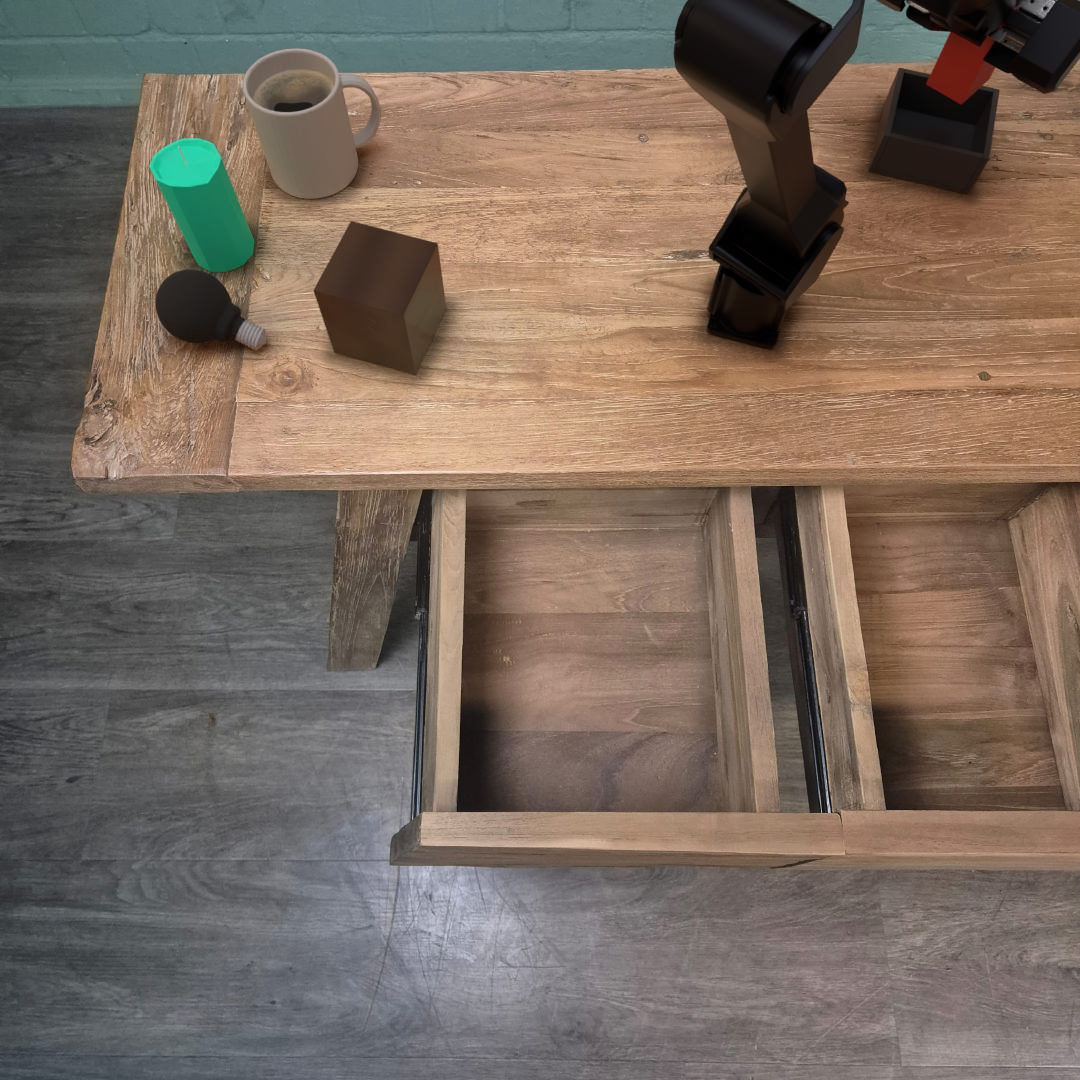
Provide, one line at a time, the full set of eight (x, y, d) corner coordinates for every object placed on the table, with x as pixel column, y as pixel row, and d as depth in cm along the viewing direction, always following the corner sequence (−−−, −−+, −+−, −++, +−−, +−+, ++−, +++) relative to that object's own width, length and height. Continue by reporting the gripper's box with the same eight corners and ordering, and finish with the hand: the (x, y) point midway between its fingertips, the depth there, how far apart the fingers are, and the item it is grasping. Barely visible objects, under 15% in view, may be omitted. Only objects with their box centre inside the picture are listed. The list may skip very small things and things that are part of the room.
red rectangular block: (961, 105, 84) (1027, -23, 73) (925, 84, 85) (985, -44, 74) (989, 79, 85) (1058, -49, 74) (953, 59, 86) (1016, -70, 76)
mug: (258, 190, 89) (227, 104, 80) (291, 125, 93) (265, 35, 84) (361, 210, 88) (341, 126, 79) (390, 143, 92) (375, 55, 83)
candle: (196, 278, 84) (145, 179, 73) (189, 231, 87) (139, 129, 76) (259, 265, 85) (218, 165, 74) (250, 219, 87) (210, 116, 76)
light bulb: (257, 343, 76) (143, 286, 74) (246, 387, 81) (139, 335, 79) (287, 297, 80) (180, 241, 78) (275, 342, 85) (173, 291, 83)
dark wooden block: (446, 308, 83) (438, 243, 75) (415, 375, 80) (403, 314, 72) (367, 286, 84) (350, 220, 76) (333, 352, 81) (313, 290, 73)
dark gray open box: (979, 126, 94) (1000, 89, 89) (968, 195, 90) (989, 159, 85) (883, 104, 95) (899, 67, 91) (867, 171, 91) (883, 135, 87)
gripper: (1169, -87, 62) (1145, -7, 76) (944, -193, 68) (959, -100, 81) (1051, 68, 67) (1049, 118, 80) (849, -42, 72) (878, 22, 86)
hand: (984, 36), depth 82 cm, fingers closed on red rectangular block, 4 cm apart
